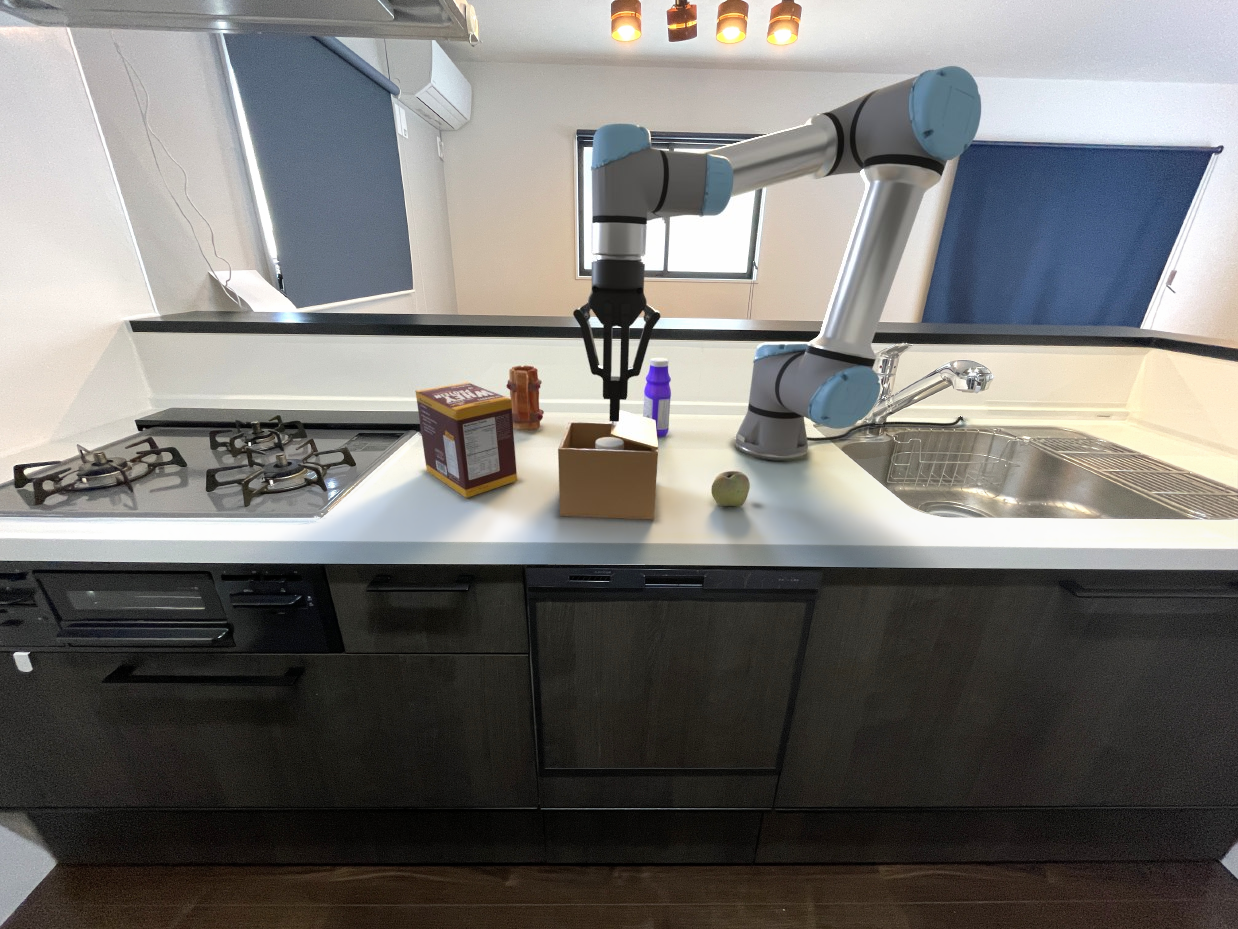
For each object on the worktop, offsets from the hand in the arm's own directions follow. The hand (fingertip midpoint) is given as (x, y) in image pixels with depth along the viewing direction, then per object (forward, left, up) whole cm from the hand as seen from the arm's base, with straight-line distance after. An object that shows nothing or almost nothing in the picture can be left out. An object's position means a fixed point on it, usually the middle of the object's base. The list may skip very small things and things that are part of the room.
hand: (614, 418), depth 78 cm
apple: (-20, 0, -15) cm, 25 cm away
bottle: (-8, -34, -15) cm, 38 cm away
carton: (+1, 0, -14) cm, 14 cm away
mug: (+22, -32, -15) cm, 41 cm away
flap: (-3, 0, -2) cm, 4 cm away
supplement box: (+27, -7, -15) cm, 31 cm away
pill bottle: (+1, 0, -14) cm, 14 cm away
